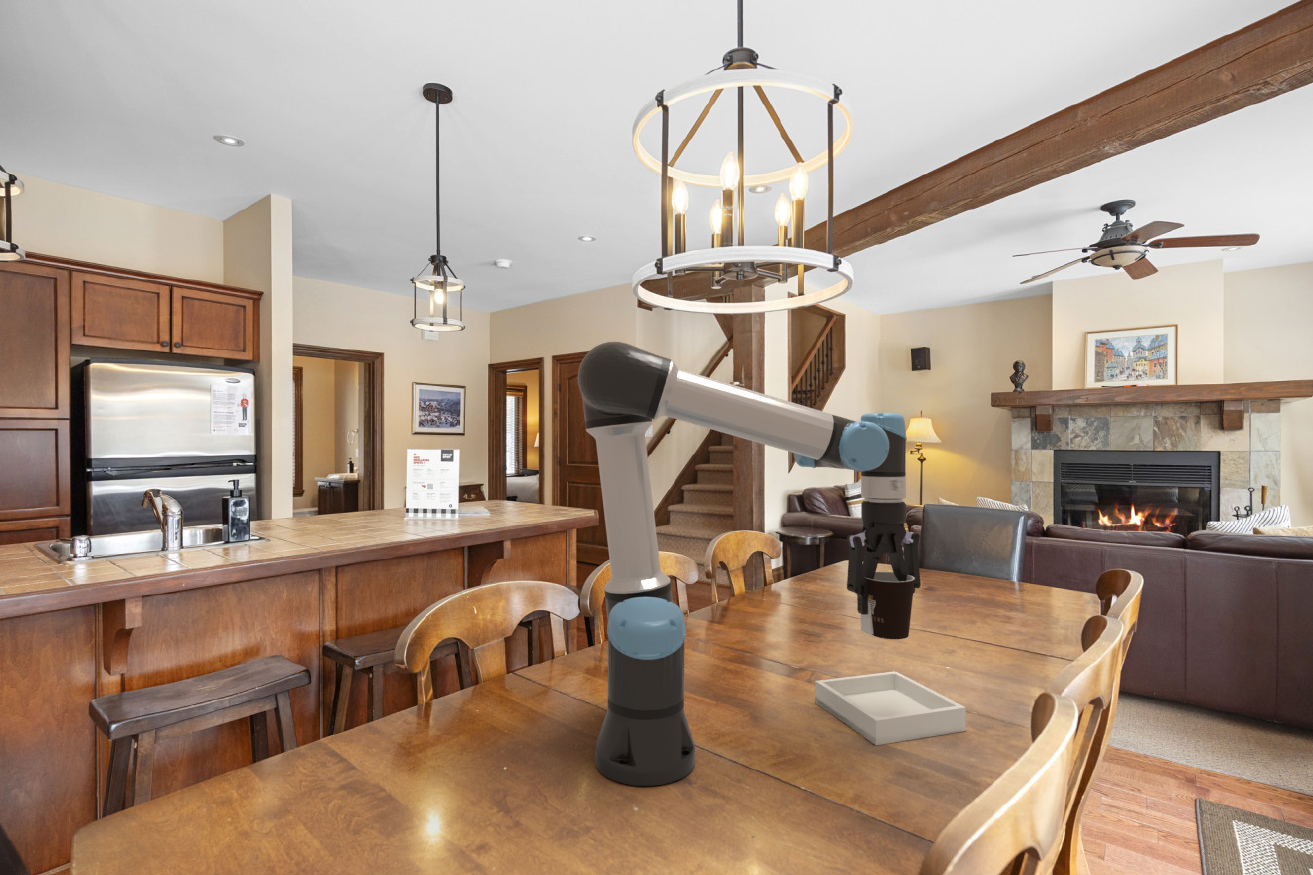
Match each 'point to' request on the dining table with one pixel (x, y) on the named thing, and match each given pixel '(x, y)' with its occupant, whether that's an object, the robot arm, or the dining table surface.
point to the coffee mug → (890, 605)
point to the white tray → (889, 707)
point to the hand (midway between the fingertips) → (884, 630)
